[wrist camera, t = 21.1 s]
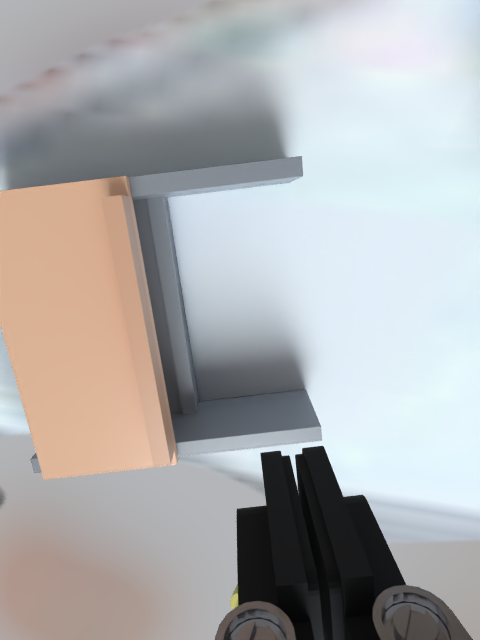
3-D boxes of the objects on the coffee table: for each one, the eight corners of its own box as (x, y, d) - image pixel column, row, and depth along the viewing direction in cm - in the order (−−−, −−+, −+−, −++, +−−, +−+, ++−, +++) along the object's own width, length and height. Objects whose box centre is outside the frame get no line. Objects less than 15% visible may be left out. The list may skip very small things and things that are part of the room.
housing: (287, 166, 32) (301, 156, 26) (306, 401, 38) (321, 440, 31) (2, 201, 33) (-53, 199, 26) (61, 429, 38) (26, 473, 31)
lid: (128, 176, 26) (117, 173, 23) (178, 458, 31) (173, 480, 29) (-28, 195, 26) (-56, 194, 23) (48, 472, 31) (32, 495, 29)
